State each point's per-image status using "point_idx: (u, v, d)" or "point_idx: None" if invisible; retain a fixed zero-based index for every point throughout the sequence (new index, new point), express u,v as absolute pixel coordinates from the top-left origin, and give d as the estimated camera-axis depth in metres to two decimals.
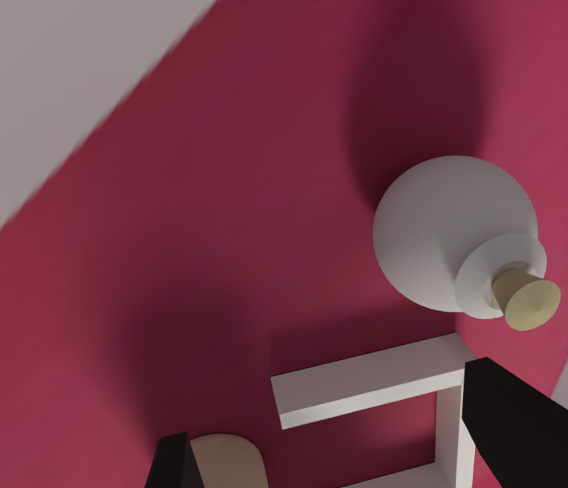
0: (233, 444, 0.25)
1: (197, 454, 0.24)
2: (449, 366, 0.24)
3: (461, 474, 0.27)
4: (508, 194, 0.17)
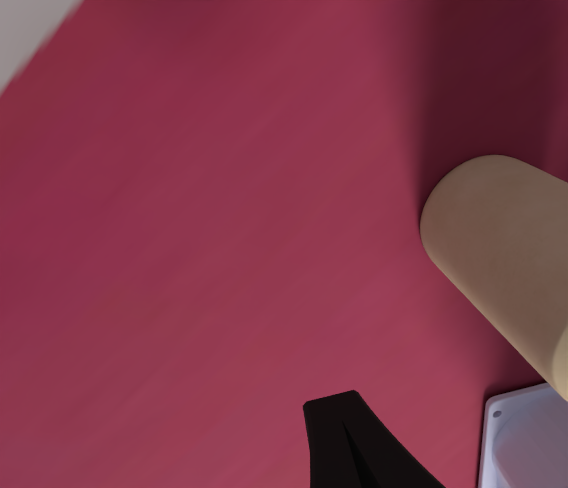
0: (525, 163, 0.19)
1: (489, 164, 0.19)
2: None
3: None
4: None
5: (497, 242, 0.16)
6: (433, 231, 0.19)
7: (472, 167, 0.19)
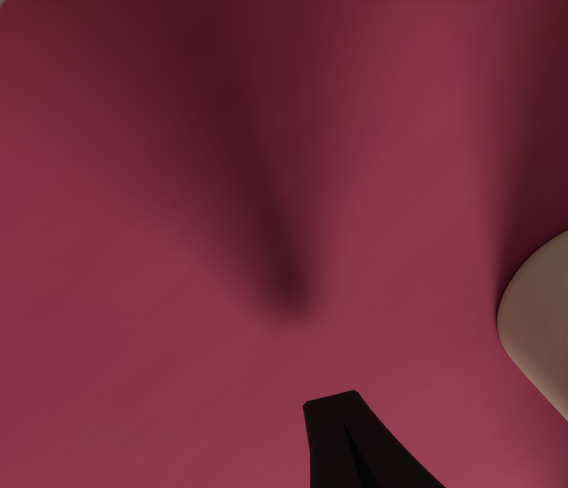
0: None
1: None
2: None
3: None
4: None
5: None
6: (524, 330, 0.14)
7: None
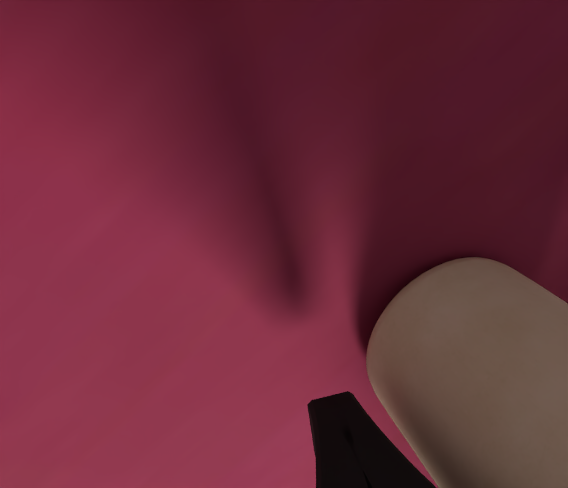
0: (512, 269, 0.13)
1: (464, 282, 0.12)
2: None
3: None
4: None
5: (497, 449, 0.09)
6: (386, 382, 0.13)
7: (438, 284, 0.13)
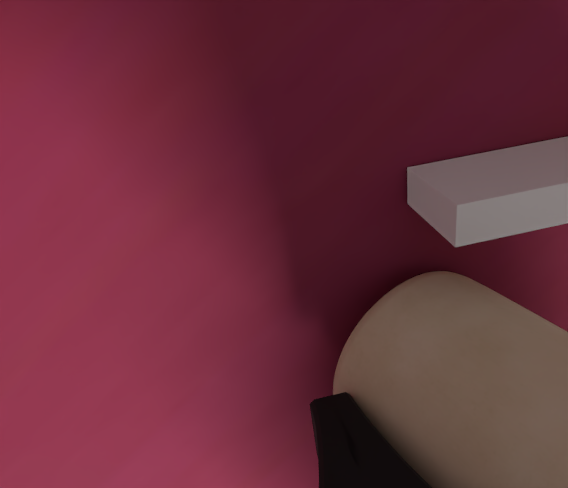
0: (473, 281, 0.13)
1: (430, 301, 0.12)
2: None
3: None
4: None
5: None
6: None
7: (403, 306, 0.12)
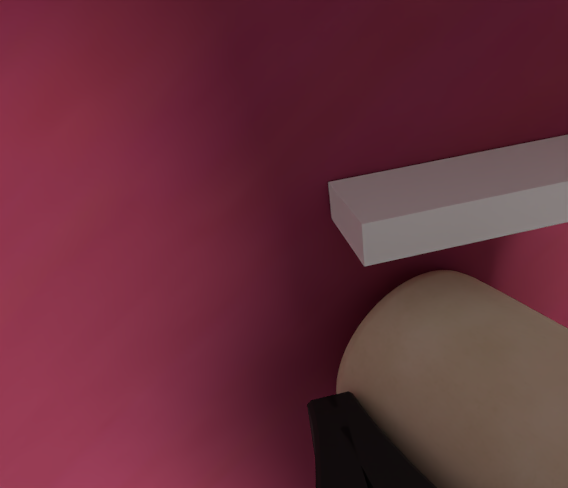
0: (476, 280, 0.13)
1: (433, 300, 0.12)
2: None
3: None
4: None
5: None
6: None
7: (406, 304, 0.12)
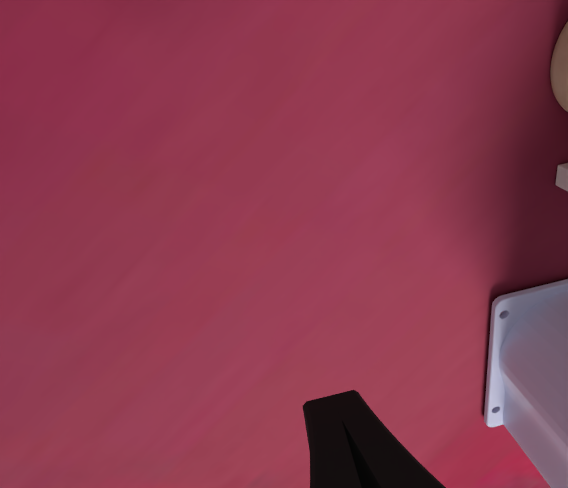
0: None
1: None
2: None
3: None
4: None
5: None
6: None
7: None
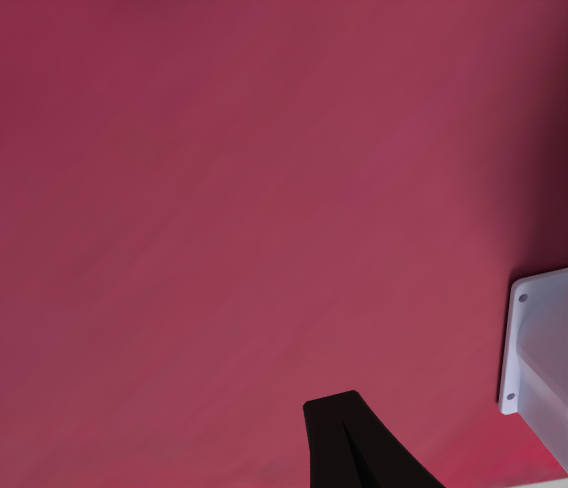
0: None
1: None
2: None
3: None
4: None
5: None
6: None
7: None
